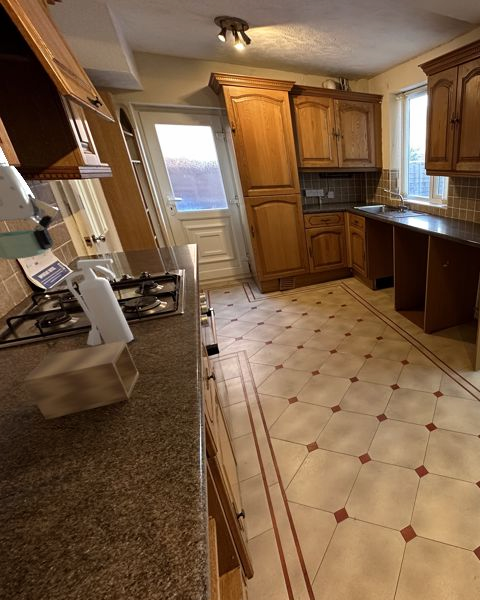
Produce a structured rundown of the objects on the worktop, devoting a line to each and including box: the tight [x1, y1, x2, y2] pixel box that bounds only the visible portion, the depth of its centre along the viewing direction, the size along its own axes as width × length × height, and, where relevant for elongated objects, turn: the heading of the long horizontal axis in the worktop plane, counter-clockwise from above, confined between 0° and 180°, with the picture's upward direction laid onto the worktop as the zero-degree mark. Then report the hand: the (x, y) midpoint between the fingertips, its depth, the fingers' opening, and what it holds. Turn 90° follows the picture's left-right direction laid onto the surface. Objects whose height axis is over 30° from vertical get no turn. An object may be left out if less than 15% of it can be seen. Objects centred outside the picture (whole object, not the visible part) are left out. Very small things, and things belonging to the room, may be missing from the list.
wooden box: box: [22, 341, 140, 420], centre depth 72 cm, size 14×10×10 cm
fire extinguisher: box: [65, 258, 134, 347], centre depth 90 cm, size 7×12×25 cm, turn 118°
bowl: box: [0, 229, 49, 260], centre depth 67 cm, size 7×7×5 cm
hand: (22, 250), depth 67 cm, fingers closed on bowl, 7 cm apart
